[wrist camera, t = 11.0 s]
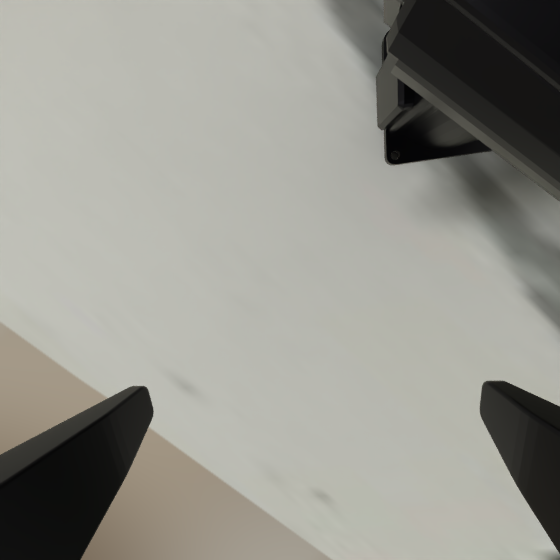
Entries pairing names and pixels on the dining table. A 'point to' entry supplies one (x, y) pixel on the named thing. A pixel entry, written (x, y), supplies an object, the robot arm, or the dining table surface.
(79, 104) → the dining table surface
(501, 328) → the dining table surface
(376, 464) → the dining table surface
